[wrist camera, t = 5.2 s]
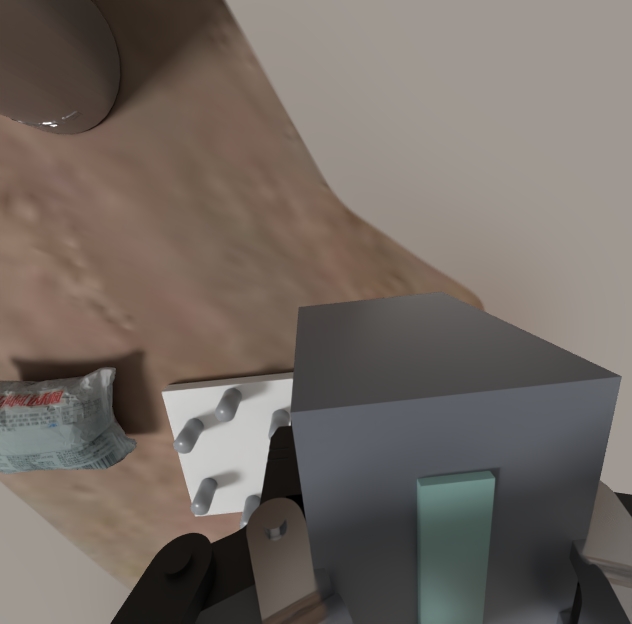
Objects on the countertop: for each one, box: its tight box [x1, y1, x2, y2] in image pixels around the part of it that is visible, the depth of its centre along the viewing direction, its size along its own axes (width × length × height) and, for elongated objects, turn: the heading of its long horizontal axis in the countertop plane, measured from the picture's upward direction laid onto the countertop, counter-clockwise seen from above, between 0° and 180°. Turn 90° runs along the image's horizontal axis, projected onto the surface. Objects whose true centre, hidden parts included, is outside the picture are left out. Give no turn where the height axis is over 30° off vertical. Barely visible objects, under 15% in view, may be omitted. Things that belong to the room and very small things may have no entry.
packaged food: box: [0, 367, 137, 474], centre depth 25 cm, size 9×12×5 cm
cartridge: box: [290, 292, 621, 624], centre depth 8 cm, size 9×5×6 cm, turn 6°
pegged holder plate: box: [162, 372, 294, 529], centre depth 27 cm, size 14×12×4 cm
